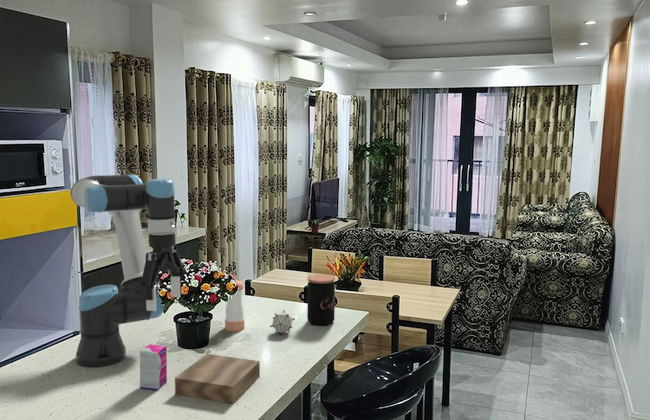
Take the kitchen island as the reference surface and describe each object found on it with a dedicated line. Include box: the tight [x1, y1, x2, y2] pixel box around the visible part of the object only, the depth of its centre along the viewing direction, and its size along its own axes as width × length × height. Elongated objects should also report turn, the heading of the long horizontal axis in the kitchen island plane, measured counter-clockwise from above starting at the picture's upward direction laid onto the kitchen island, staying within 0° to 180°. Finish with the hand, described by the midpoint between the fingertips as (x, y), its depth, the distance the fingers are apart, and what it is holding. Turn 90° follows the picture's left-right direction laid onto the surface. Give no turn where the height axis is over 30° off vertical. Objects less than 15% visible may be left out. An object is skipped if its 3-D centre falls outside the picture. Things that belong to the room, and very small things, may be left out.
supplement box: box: [139, 343, 168, 391], centre depth 160 cm, size 6×6×12 cm
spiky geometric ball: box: [269, 309, 295, 336], centre depth 204 cm, size 9×8×10 cm
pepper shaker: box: [224, 278, 245, 332], centre depth 208 cm, size 7×7×19 cm
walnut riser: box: [174, 353, 261, 405], centre depth 161 cm, size 18×18×5 cm
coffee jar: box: [306, 273, 336, 327], centre depth 216 cm, size 11×11×18 cm
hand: (164, 303), depth 163 cm, fingers open, 13 cm apart
